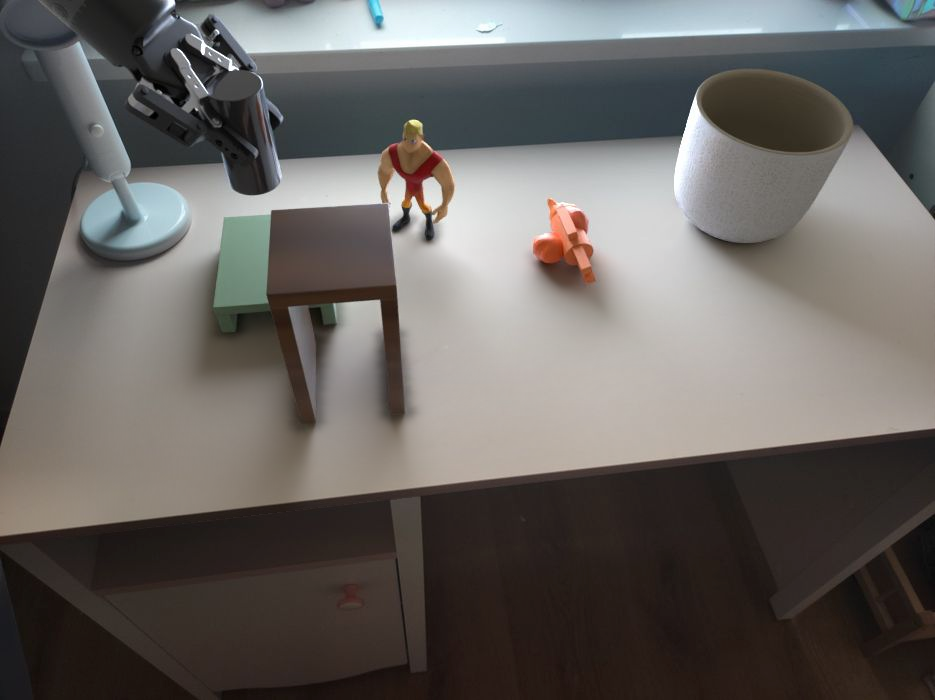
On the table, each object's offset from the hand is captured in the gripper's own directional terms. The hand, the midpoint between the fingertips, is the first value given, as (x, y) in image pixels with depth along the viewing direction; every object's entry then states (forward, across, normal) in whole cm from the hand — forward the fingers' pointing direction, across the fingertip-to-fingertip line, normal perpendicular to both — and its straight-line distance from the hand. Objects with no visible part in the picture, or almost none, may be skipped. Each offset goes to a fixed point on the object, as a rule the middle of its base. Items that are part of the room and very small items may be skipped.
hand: (264, 142), depth 65 cm
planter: (+47, +26, -21) cm, 57 cm away
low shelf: (+12, 0, +14) cm, 19 cm away
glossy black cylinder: (+2, 0, +4) cm, 5 cm away
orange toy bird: (+33, +12, -7) cm, 36 cm away
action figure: (+21, +13, +6) cm, 25 cm away
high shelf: (+21, -11, +6) cm, 24 cm away
